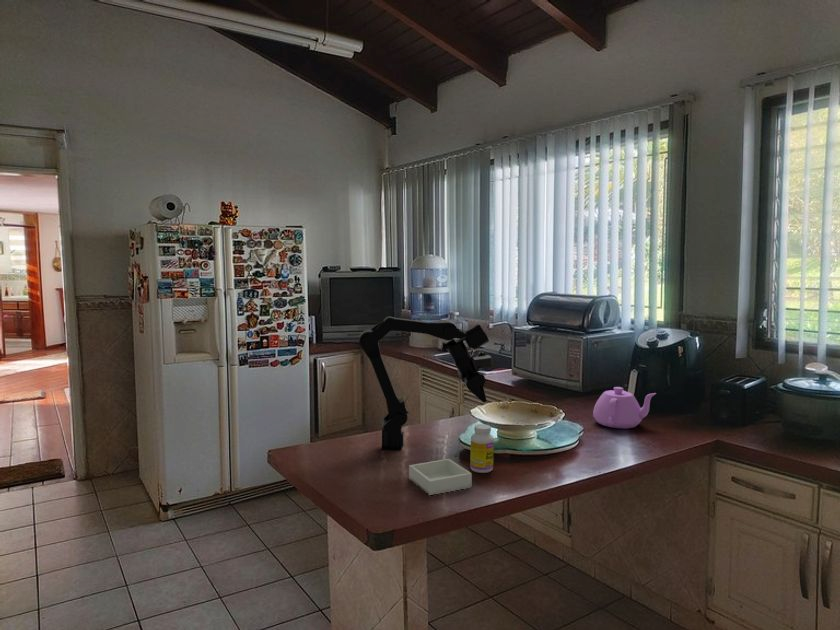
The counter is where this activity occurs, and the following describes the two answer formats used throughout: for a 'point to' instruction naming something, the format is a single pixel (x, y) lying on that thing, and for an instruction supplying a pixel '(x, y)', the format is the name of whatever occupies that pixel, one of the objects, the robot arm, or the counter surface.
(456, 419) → the counter surface
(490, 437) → the supplement bottle
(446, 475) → the tote
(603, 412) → the teapot
